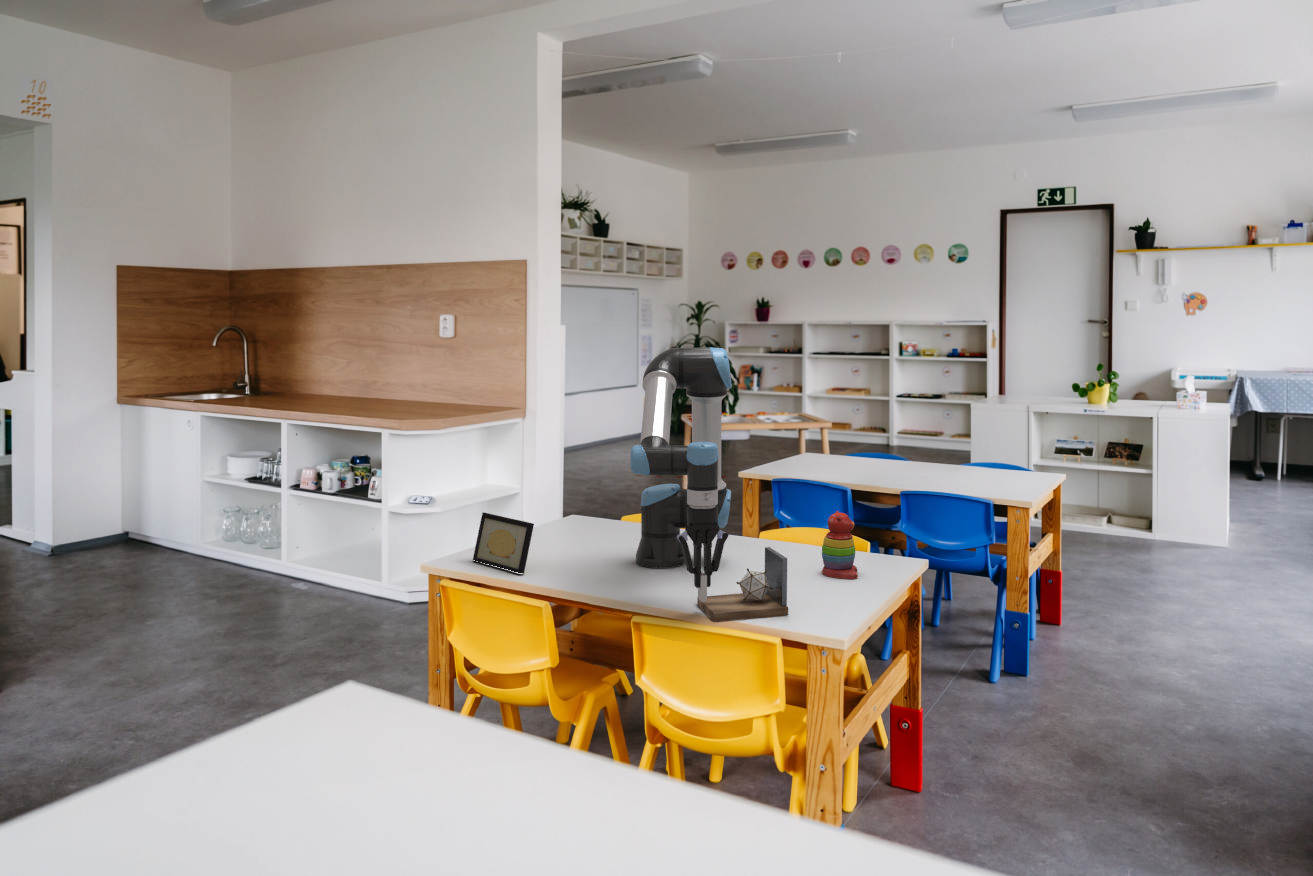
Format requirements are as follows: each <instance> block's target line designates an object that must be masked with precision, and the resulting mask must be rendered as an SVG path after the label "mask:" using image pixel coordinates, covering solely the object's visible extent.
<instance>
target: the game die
mask: <svg viewBox="0 0 1313 876" xmlns="http://www.w3.org/2000/svg"><path fill="white" fill-rule="evenodd" d="M766 572H767V570H766V571H765V570H764V572H762V571H761V572H760V571H753V570H750V569H749V568H748V567H747V568H746V574H745V575H744V576H743V578H741V580H740V581H736V582H735V583H736V585H739V587H740V589H741V592H742V593H743V595H744V597H745V598H744V599H743V601H745V599H751V600H759V601H761V603H762V604H763V601H762V599H763V598H764V597H765V595H766V594H767V593H768V591H769V590H770V589H774V588H773V587H770V585H769V582H768V580H767V577H766V574H765V573H766Z"/></svg>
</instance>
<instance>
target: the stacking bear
mask: <svg viewBox="0 0 1313 876" xmlns="http://www.w3.org/2000/svg"><path fill="white" fill-rule="evenodd" d="M827 526H828V530H829V531H828V532H827V533H826V535H825V536H824V538H823V543H822V545H821V557H822V563H823V568H822V571H821V572H822V574H823V576H826V577H829V578H834V579H835V578H836V579H843V580H856V579H858V576H859V574H858V573H857V572H858V568H857V566H856V565H854V562H855V558H856V546H855V541H854V537H853V534H852V533H851V532H852V530H853V529H854V527H855V522H854V521H853V520H851V518H850V517H849V515H848V514H846V513H844V512H840V511H839V510H837V511H835V512H834V513H833V514H830V516H829V517H828V519H827Z"/></svg>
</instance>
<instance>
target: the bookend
mask: <svg viewBox="0 0 1313 876" xmlns="http://www.w3.org/2000/svg"><path fill="white" fill-rule="evenodd" d="M766 570H767V572H766V573H765V574H766V577H767V580H768V582H769V585H770V587H773V588H774V589H770V590H769V591H768V593H767V595H768V596H769V597H771V598H772V599H773V600H775V601H776V602H777V603H778V604H780V605H781V606H787V607H788V604H787V603H788V558H787V557H786V556H784V555H783V554H782V553H780V552H778V551H776V550H775V549H773V548H772V547H770V546H764V572H765V571H766Z"/></svg>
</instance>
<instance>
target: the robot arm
mask: <svg viewBox="0 0 1313 876" xmlns="http://www.w3.org/2000/svg"><path fill="white" fill-rule="evenodd" d="M642 377H643V378H642V389H643V391H644V393H645V394H644V401H643V402H644V403H643V412H642V422H641V432H640V443H639V444H636V445H635V444H634V445H632V446H631V448H630V470H631V473H632V474H634V475H640V476H641V475H643V476H649V477H650V476H669V475H670V476H686V477H687V479H686V480H687V484H686V488H685V489H681V485H680V484H678V483H663V484H662V483H661V484H657V485H652V486H649V487H646V488H645V489H644V490H643V491H642V492H641V499H640V500H641V501H640V509H641V510H640V511H641V513H640V514H641V515H640V516H641V519H640V520H641V523H640V524H641V526H640V529H641V530H640V531H641V534H640V535H641V537H640V539H639V543H638V547H637V550H636V553H635V563H636V564H637V565H638V566H641V567H644V568H652V569H670V568H677V567H681V566H683V565H685V567H686V570H687V571H688V573H689V574H691V575H692V574H693V575H694V576H693V577H694V579H693V583H694V584H693V585H694V587H695V588H696V589H697V597H698V599H699V600H700V601H701V602H704V601H707V596H708V588H710V587H711V581H712V580H711V579H712V578H711V576H712V575H713V573H714V572H718V571H719V567H720V564H721V559H722V555H723V550H724V546H725V542H726V541H727V539H728V538H729V534H728V533H727V532H725V531H724V530H721V529H723V528H725V527H726V526H727V524H728V521H729V516H730V508H731V500H732V490H730V489H728V488H727V483H726V482H725V481H724V480H723V479H722V405H723V404H722V401H723V399H724V398H726V397H727V395H728V390H730V389H732V387H733V385H732V383H733V382H732V377H731V367H730V360H729V353H728V351H727V350H726V349H725V348H722V347H712V346H711V347H710V346H708V347H673V348H668V349H666V350H663V351H662V352H661V353H659V354H658V355H657V356H655V357H654V358H653V359H652V360H651V361H650V362H649V363H648V365H647V366H646V369H645V371H644V372H643V376H642ZM676 389H685V390H686V396H687V397H688V398H689V399H690V400H691V442H690V443H689V444H688V445H670V437H671V420H672V405H673V394H674V393H675V392H676ZM681 529H684V531H683V532H681ZM688 537H689V539H690V540H691V541H692V546H693V559H692V555H691V551H690V547H689V544H688V542H687V541H688ZM715 538H716V542H715V546H714V551H713V554H712V547H713V541H714V539H715ZM702 548H703V572H702Z"/></svg>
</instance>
